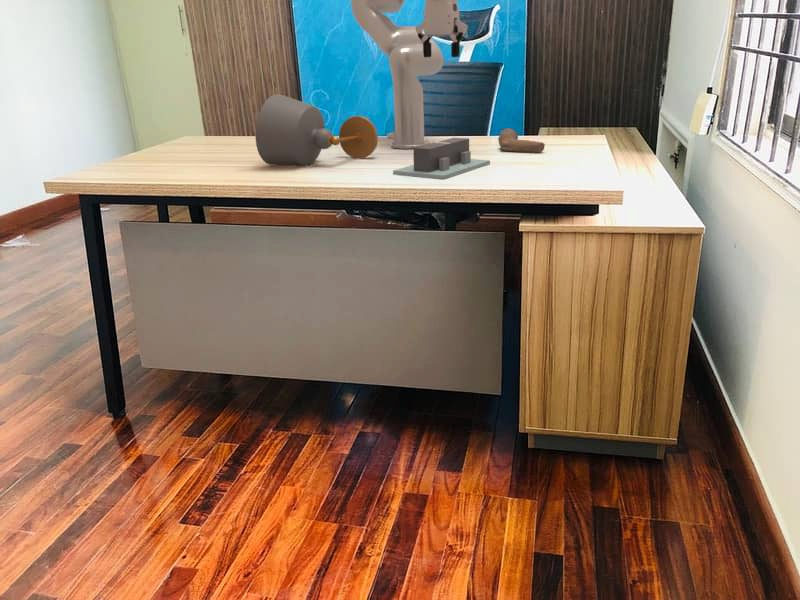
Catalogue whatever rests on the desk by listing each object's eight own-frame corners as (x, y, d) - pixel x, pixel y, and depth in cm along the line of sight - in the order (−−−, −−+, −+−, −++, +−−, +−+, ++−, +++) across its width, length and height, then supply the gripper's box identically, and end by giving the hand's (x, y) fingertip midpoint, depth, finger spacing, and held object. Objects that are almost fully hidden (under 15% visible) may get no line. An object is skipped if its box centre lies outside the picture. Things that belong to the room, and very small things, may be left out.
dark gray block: (454, 158, 200) (453, 137, 198) (469, 160, 197) (469, 138, 195) (414, 170, 185) (413, 147, 183) (429, 172, 182) (429, 148, 180)
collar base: (393, 174, 187) (392, 159, 185) (441, 160, 205) (441, 146, 203) (443, 179, 178) (443, 163, 176) (489, 164, 196) (490, 149, 194)
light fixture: (255, 94, 193) (340, 108, 184) (303, 93, 216) (381, 105, 207) (252, 167, 200) (334, 185, 191) (298, 159, 223) (374, 174, 214)
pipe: (540, 138, 206) (551, 128, 213) (488, 136, 214) (500, 126, 221) (541, 159, 209) (551, 149, 217) (489, 156, 217) (501, 146, 224)
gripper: (473, -8, 197) (473, 56, 203) (423, -5, 207) (424, 56, 213) (459, -9, 191) (459, 57, 198) (408, -5, 201) (409, 57, 207)
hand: (441, 57), depth 205 cm, fingers open, 9 cm apart
